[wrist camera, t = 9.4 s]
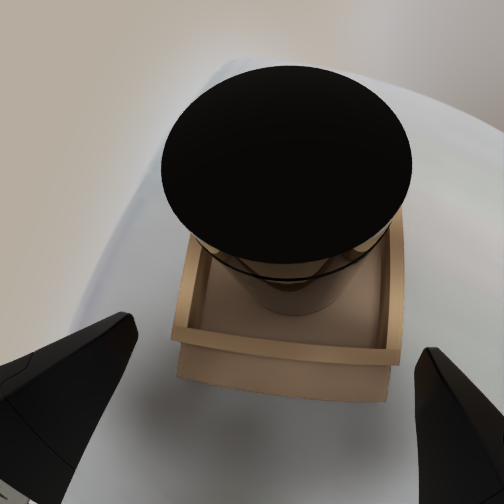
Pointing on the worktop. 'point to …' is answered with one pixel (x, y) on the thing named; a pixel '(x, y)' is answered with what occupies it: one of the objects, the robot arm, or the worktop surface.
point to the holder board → (294, 331)
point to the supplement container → (288, 181)
